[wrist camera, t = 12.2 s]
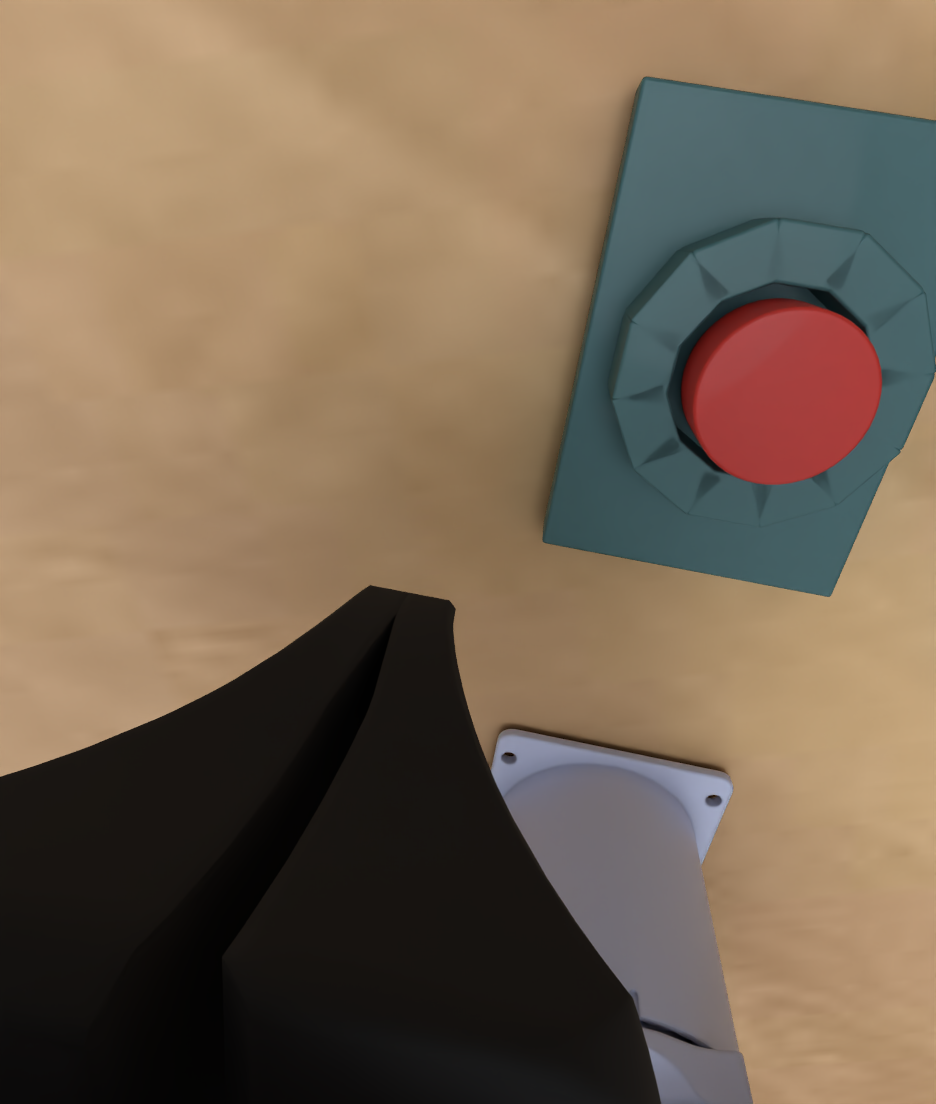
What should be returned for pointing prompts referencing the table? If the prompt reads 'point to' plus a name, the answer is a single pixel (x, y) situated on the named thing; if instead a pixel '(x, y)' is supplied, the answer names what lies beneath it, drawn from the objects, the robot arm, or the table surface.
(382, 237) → the table surface
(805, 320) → the button
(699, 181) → the button block
